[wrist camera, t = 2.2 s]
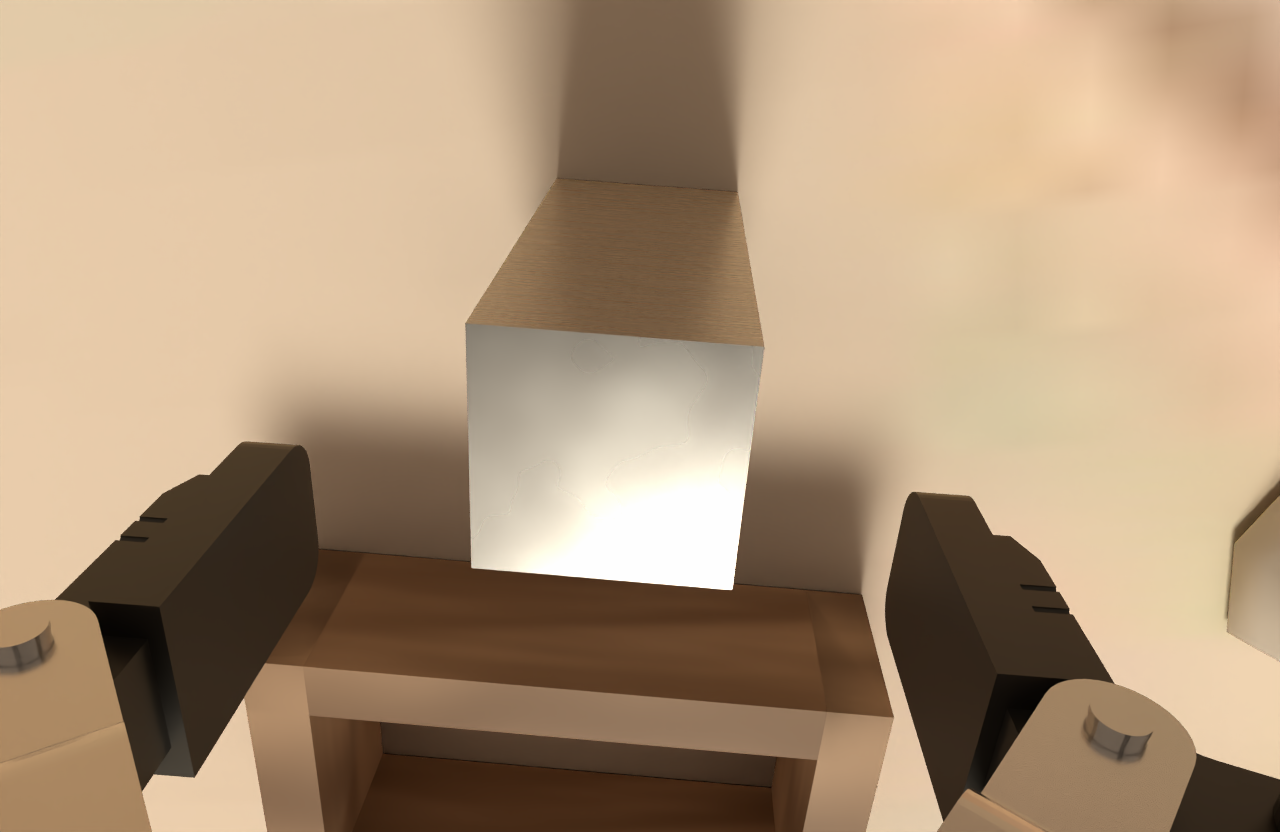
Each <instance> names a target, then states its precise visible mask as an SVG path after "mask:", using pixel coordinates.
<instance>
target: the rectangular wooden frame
mask: <svg viewBox="0 0 1280 832" xmlns="http://www.w3.org/2000/svg"><path fill="white" fill-rule="evenodd" d="M244 698H245V704H246V710H247V716H248V722H249V728H250V733H251V739H252V745H253V751H254V757H255V763H256V768H257V774H258V780H259V786H260V792H261V798H262V803H263V809H264V815H265V821H266V827H267V832H866V828H867V824H868V820H869V816H870V812H871V808H872V804H873V800H874V796H875V792H876V788H877V784H878V780H879V776H880V772H881V768H882V764H883V760H884V756H885V751H886V747H887V743H888V739H889V735H890V731H891V727H892V723H893V719H894V716H893V713H892V709H891V705H890V701H889V697H888V693H887V689H886V686H885V682H884V678H883V674H882V670H881V666H880V662H879V659H878V655H877V651H876V647H875V643H874V639H873V635H872V632H871V628H870V624H869V620H868V616H867V612H866V608H865V605H864V601H863V597H862V595H859V594H847V593H835V592H824V591H812V590H800V589H788V588H776V587H764V586H752V585H740V584H733V588H732V590H728V589H716V588H704V587H692V586H680V585H668V584H656V583H644V582H632V581H621V580H609V579H597V578H585V577H573V576H561V575H549V574H537V573H526V572H514V571H502V570H490V569H478V568H471V562H466V561H454V560H442V559H430V558H418V557H406V556H394V555H382V554H370V553H358V552H346V551H334V550H322V549H319V554H318V564H317V570H316V575H315V578H314V581H313V584H312V587H311V589H310V591H309V593H308V594H307V596H306V598H305V599H304V601H303V603H302V604H301V606H300V607H299V609H298V611H297V612H296V614H295V616H294V617H293V619H292V620H291V622H290V624H289V625H288V627H287V629H286V630H285V632H284V633H283V635H282V637H281V638H280V640H279V641H278V643H277V645H276V646H275V648H274V650H273V651H272V653H271V654H270V656H269V658H268V659H267V661H266V663H265V664H264V666H263V667H262V669H261V671H260V672H259V674H258V676H257V677H256V679H255V680H254V682H253V684H252V685H251V687H250V689H249V690H248V692H247V693H246V695H245V697H244ZM380 722H388V723H400V724H411V725H423V726H434V727H445V728H457V729H468V730H480V731H491V732H502V733H514V734H525V735H537V736H548V737H559V738H571V739H582V740H594V741H605V742H617V743H628V744H639V745H651V746H662V747H674V748H685V749H696V750H708V751H719V752H731V753H742V754H753V755H765V756H776V757H777V759H776V764H775V770H774V776H773V781H772V787H771V788H766V787H754V786H743V785H732V784H720V783H709V782H698V781H686V780H675V779H664V778H652V777H641V776H630V775H619V774H607V773H596V772H585V771H573V770H562V769H551V768H539V767H528V766H517V765H505V764H494V763H483V762H472V761H460V760H449V759H438V758H426V757H415V756H404V755H392V754H383V749H382V737H381V726H380Z"/></svg>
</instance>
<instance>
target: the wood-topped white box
mask: <svg viewBox="0 0 1280 832" xmlns="http://www.w3.org/2000/svg"><path fill="white" fill-rule="evenodd" d="M465 324H466V365H467V406H468V448H469V489H470V530H471V568H478V569H490V570H502V571H514V572H526V573H537V574H549V575H561V576H573V577H585V578H597V579H609V580H621V581H632V582H644V583H656V584H668V585H680V586H692V587H704V588H716V589H728V590H732V588H733V580H734V572H735V565H736V557H737V550H738V542H739V535H740V527H741V520H742V512H743V504H744V497H745V489H746V482H747V474H748V467H749V459H750V451H751V444H752V436H753V429H754V421H755V414H756V406H757V398H758V391H759V383H760V376H761V368H762V361H763V353H764V342H763V336H762V330H761V325H760V319H759V313H758V307H757V301H756V296H755V290H754V284H753V278H752V272H751V267H750V261H749V255H748V249H747V243H746V238H745V232H744V226H743V220H742V214H741V209H740V203H739V197H738V192H732V191H719V190H705V189H692V188H679V187H665V186H652V185H639V184H625V183H612V182H599V181H585V180H572V179H559V178H557V179H556V180H555V182H554V183H553V185H552V187H551V188H550V190H549V191H548V193H547V195H546V196H545V198H544V199H543V201H542V203H541V204H540V206H539V207H538V209H537V210H536V212H535V214H534V215H533V217H532V218H531V220H530V222H529V223H528V225H527V226H526V228H525V230H524V231H523V233H522V234H521V236H520V237H519V239H518V241H517V242H516V244H515V245H514V247H513V249H512V250H511V252H510V253H509V255H508V257H507V258H506V260H505V261H504V263H503V265H502V266H501V268H500V269H499V271H498V272H497V274H496V276H495V277H494V279H493V280H492V282H491V284H490V285H489V287H488V288H487V290H486V292H485V293H484V295H483V296H482V298H481V299H480V301H479V303H478V304H477V306H476V307H475V309H474V311H473V312H472V314H471V315H470V317H469V319H468V320H467V322H466V323H465Z"/></svg>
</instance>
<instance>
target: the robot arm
mask: <svg viewBox="0 0 1280 832" xmlns="http://www.w3.org/2000/svg"><path fill="white" fill-rule="evenodd" d="M318 554H319V546H318V536H317V527H316V517H315V508H314V499H313V490H312V481H311V472H310V464H309V458H308V455H307V452H306V451H305V449H304V448H303V447H302V446H300V445H287V444H274V443H260V442H242V443H240V444H239V445H238V446H237V447H236V448H235V449H234V450H233V451H232V452H231V453H230V454H229V455H228V456H227V457H226V458H225V459H224V460H223V462H222V463H221V464H220V465H219V466H218V467H217V468H216V469H215V470H214V471H213V472H212V473H211V474H210V475H197V476H195V477H194V478H192V479H190V480H188V481H186V482H184V483H182V484H180V485H178V486H176V487H174V488H173V489H171V490H169V491H167V492H165V493H163V494H162V495H161V496H160V497H159V498H158V499H157V500H156V501H155V502H154V503H153V504H152V505H151V506H150V507H149V508H148V509H147V510H146V511H145V512H144V513H143V514H142V515H141V516H140V520H139V521H135V522H134V523H133V524H132V525H131V526H130V527H129V528H128V529H127V530H125V531H124V532H123V533H122V534H121V538H120V541H118V540H115V541H114V542H113V543H112V544H111V545H110V546H109V547H108V548H107V549H106V550H105V551H104V552H103V553H102V554H101V555H100V556H99V557H98V558H97V559H96V560H95V561H94V562H93V563H92V564H91V565H90V566H89V567H88V568H87V569H86V570H85V571H84V572H83V573H82V574H81V575H80V576H79V577H78V578H77V579H76V580H75V581H74V582H73V583H72V584H71V585H70V586H69V587H68V588H67V589H66V590H64V591H63V592H62V593H61V594H60V595H59V596H58V597H57V598H56V599H55V600H41V601H34V602H27V603H22V604H18V605H14V606H10V607H7V608H4V609H1V610H0V832H152V830H151V826H150V822H149V818H148V814H147V810H146V806H145V802H144V798H143V794H142V791H143V789H144V788H145V786H146V785H147V783H148V782H149V780H150V779H151V777H152V776H153V774H156V775H169V776H181V777H194V778H195V776H196V774H197V773H198V771H199V770H200V768H201V766H202V765H203V763H204V761H205V760H206V758H207V757H208V755H209V753H210V752H211V750H212V749H213V747H214V745H215V744H216V742H217V740H218V739H219V737H220V736H221V734H222V732H223V731H224V729H225V727H226V726H227V724H228V723H229V721H230V719H231V718H232V716H233V714H234V713H235V711H236V710H237V708H238V706H239V705H240V703H241V701H242V700H243V698H244V697H245V695H246V693H247V692H248V690H249V689H250V687H251V685H252V684H253V682H254V680H255V679H256V677H257V676H258V674H259V672H260V671H261V669H262V667H263V666H264V664H265V663H266V661H267V659H268V658H269V656H270V654H271V653H272V651H273V650H274V648H275V646H276V645H277V643H278V641H279V640H280V638H281V637H282V635H283V633H284V632H285V630H286V629H287V627H288V625H289V624H290V622H291V620H292V619H293V617H294V616H295V614H296V612H297V611H298V609H299V607H300V606H301V604H302V603H303V601H304V599H305V598H306V596H307V594H308V593H309V591H310V589H311V587H312V584H313V581H314V578H315V575H316V570H317V564H318ZM885 621H886V631H887V636H888V640H889V643H890V646H891V650H892V653H893V656H894V660H895V663H896V666H897V669H898V673H899V676H900V679H901V683H902V686H903V689H904V693H905V696H906V699H907V703H908V706H909V709H910V713H911V716H912V719H913V722H914V726H915V729H916V732H917V736H918V739H919V742H920V746H921V749H922V752H923V756H924V759H925V762H926V766H927V769H928V772H929V775H930V779H931V782H932V785H933V789H934V792H935V795H936V799H937V802H938V805H939V809H940V812H941V815H942V819H943V823H942V825H941V826H940V828H939V829H938V831H937V832H1280V779H1276V778H1273V777H1269V776H1266V775H1263V774H1259V773H1256V772H1253V771H1249V770H1246V769H1243V768H1239V767H1236V766H1233V765H1229V764H1226V763H1223V762H1219V761H1216V760H1213V759H1210V758H1207V757H1204V756H1202V755H1199V754H1197V753H1196V749H1195V746H1194V743H1193V741H1192V739H1191V737H1190V735H1189V734H1188V732H1187V730H1186V729H1185V728H1184V727H1183V726H1182V725H1181V723H1180V722H1179V721H1178V720H1177V719H1176V718H1175V717H1174V716H1173V715H1171V714H1170V713H1169V712H1168V711H1167V710H1165V709H1164V708H1163V707H1161V706H1160V705H1159V704H1157V703H1155V702H1154V701H1152V700H1150V699H1149V698H1147V697H1145V696H1143V695H1141V694H1139V693H1137V692H1135V691H1133V690H1130V689H1128V688H1125V687H1123V686H1119V685H1116V684H1114V682H1113V680H1112V679H1111V677H1110V675H1109V674H1108V672H1107V670H1106V669H1105V667H1104V665H1103V664H1102V662H1101V660H1100V659H1099V657H1098V655H1097V654H1096V652H1095V650H1094V649H1093V647H1092V645H1091V644H1090V642H1089V640H1088V639H1087V637H1086V636H1085V634H1084V632H1083V631H1082V629H1081V627H1080V626H1079V624H1078V622H1077V621H1076V619H1075V617H1074V616H1073V615H1071V614H1069V607H1068V606H1067V604H1066V602H1065V601H1064V599H1063V597H1062V596H1061V594H1060V592H1056V586H1055V584H1054V582H1053V581H1052V579H1051V577H1050V576H1049V574H1048V572H1047V571H1046V569H1045V567H1044V566H1043V564H1042V563H1041V561H1040V560H1039V559H1038V558H1037V557H1035V556H1034V555H1033V554H1032V553H1030V552H1029V551H1028V550H1027V549H1025V548H1024V547H1023V546H1022V545H1020V544H1019V543H1018V542H1017V541H1015V540H1014V539H1013V538H1012V537H1011V536H1000V535H992V533H991V531H990V529H989V527H988V525H987V524H986V522H985V520H984V518H983V516H982V514H981V513H980V511H979V509H978V507H977V505H976V503H975V502H974V500H973V499H972V498H971V497H970V496H963V495H949V494H935V493H922V492H912V493H911V494H910V495H909V496H908V498H907V500H906V503H905V507H904V511H903V515H902V520H901V525H900V530H899V534H898V539H897V544H896V549H895V553H894V558H893V563H892V568H891V572H890V577H889V582H888V587H887V592H886V602H885Z"/></svg>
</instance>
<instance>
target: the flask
mask: <svg viewBox="0 0 1280 832" xmlns="http://www.w3.org/2000/svg"><path fill="white" fill-rule="evenodd" d="M1227 632H1228V633H1229V634H1231V635H1233V636H1235V637H1236V638H1238V639H1240V640H1242V641H1243V642H1245V643H1247V644H1248V645H1250V646H1252V647H1254V648H1255V649H1257V650H1259V651H1261V652H1263V653H1264V654H1266V655H1268V656H1270V657H1272V658H1274V659H1276V660H1278V661H1279V662H1280V495H1279V497H1278V498H1277V499H1276V500H1275V501H1274V502H1273V503H1272V504H1271V505H1270V506H1269V507H1268V508H1267V509H1266V510H1265V511H1264V512H1263V513H1262V515H1261V516H1260V517H1259V518H1258V519H1257V520H1256V521H1255V522H1254V523H1253V524H1252V525H1251V526H1250V527H1249V528H1248V529H1247V530H1246V532H1245V533H1244V534H1243V535H1242V536H1241V537H1240V538H1239V539H1238V540H1237V541H1236V542H1235V543H1234V554H1233V565H1232V577H1231V588H1230V599H1229V610H1228V622H1227Z"/></svg>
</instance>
